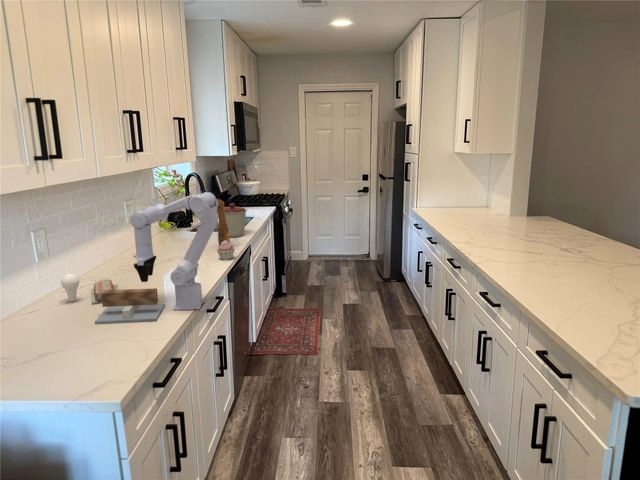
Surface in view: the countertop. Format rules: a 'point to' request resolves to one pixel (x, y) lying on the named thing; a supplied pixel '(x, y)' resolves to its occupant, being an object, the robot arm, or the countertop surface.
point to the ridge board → (137, 317)
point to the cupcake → (225, 251)
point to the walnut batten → (129, 297)
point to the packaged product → (101, 290)
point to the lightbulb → (70, 285)
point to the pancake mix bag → (222, 223)
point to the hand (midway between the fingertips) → (147, 278)
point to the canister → (235, 220)
